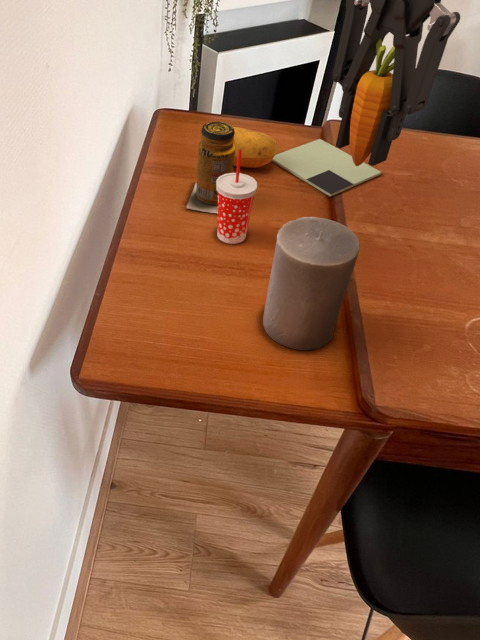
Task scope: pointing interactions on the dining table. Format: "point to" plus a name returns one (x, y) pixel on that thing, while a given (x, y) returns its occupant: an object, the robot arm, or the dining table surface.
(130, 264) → the dining table surface
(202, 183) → the condiment
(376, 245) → the dining table surface
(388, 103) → the carrot
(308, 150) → the corner mat
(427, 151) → the dining table surface
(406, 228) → the dining table surface
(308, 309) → the pillar candle
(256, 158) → the potato
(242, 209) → the beverage cup
